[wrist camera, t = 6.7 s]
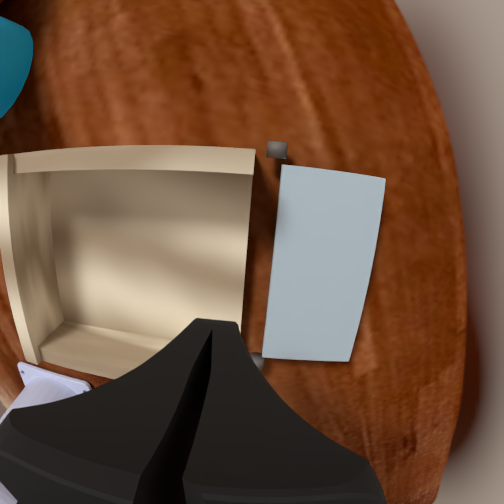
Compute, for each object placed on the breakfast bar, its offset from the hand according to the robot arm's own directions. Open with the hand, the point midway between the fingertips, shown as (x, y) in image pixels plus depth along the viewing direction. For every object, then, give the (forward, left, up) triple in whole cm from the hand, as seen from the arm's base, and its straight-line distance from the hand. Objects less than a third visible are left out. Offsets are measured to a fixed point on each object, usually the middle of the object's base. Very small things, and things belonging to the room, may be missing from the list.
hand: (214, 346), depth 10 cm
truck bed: (0, +6, -8) cm, 10 cm away
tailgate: (0, -2, -7) cm, 8 cm away
